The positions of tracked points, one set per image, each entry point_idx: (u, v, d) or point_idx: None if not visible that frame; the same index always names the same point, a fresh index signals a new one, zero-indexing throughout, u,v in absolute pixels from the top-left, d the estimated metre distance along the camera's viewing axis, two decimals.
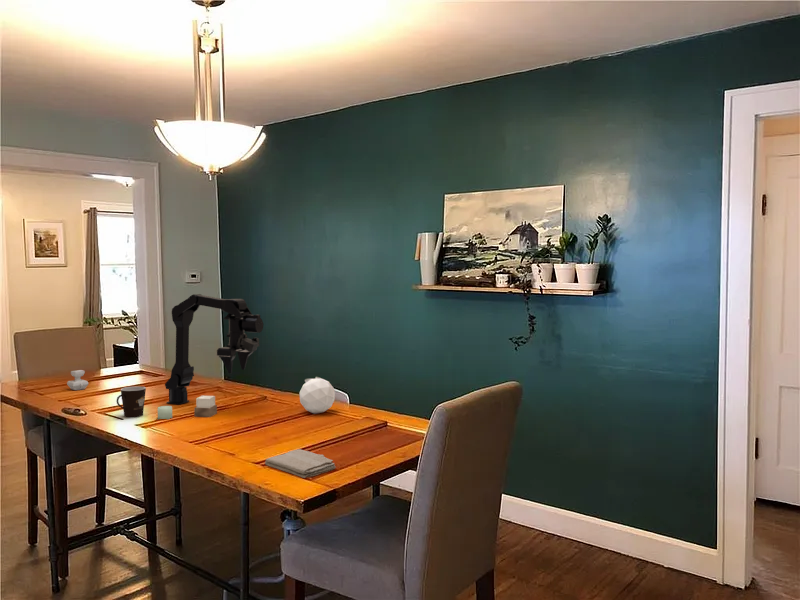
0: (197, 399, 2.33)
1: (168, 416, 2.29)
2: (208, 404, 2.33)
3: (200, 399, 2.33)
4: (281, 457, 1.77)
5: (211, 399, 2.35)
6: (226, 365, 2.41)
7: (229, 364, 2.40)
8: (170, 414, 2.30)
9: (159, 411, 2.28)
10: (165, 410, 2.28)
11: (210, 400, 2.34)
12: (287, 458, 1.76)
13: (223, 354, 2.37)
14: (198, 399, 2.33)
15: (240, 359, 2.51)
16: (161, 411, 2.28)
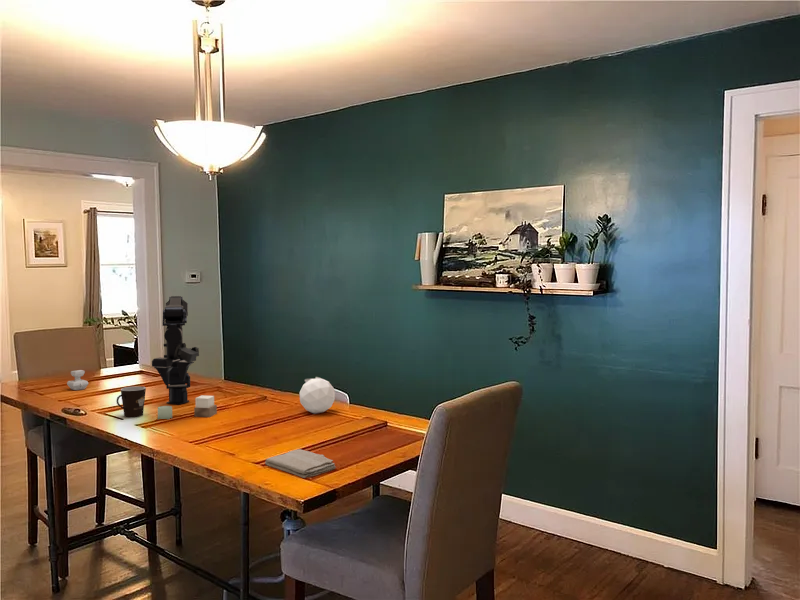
0: (196, 399, 2.33)
1: (168, 416, 2.29)
2: (207, 404, 2.33)
3: (199, 399, 2.33)
4: (281, 457, 1.77)
5: (210, 399, 2.34)
6: (162, 377, 2.27)
7: (165, 375, 2.26)
8: (170, 414, 2.30)
9: (159, 411, 2.28)
10: (165, 410, 2.28)
11: (209, 400, 2.34)
12: (287, 458, 1.76)
13: (158, 365, 2.23)
14: (197, 399, 2.33)
15: (179, 370, 2.37)
16: (161, 411, 2.28)
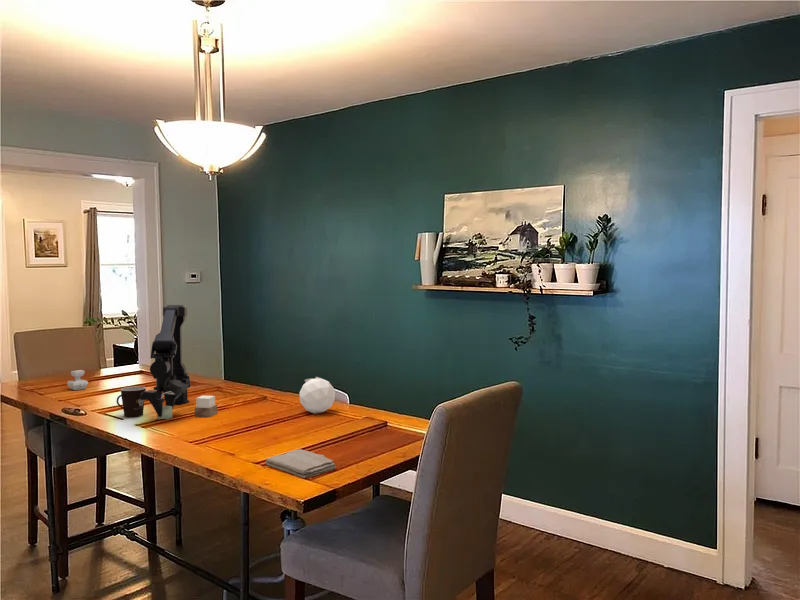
0: (197, 399, 2.33)
1: (168, 416, 2.29)
2: (208, 404, 2.33)
3: (200, 399, 2.33)
4: (281, 457, 1.77)
5: (211, 399, 2.35)
6: (155, 408, 2.27)
7: (158, 407, 2.27)
8: (170, 413, 2.30)
9: None
10: (165, 410, 2.28)
11: (210, 400, 2.34)
12: (287, 458, 1.76)
13: (147, 398, 2.21)
14: (198, 399, 2.33)
15: (166, 402, 2.34)
16: None
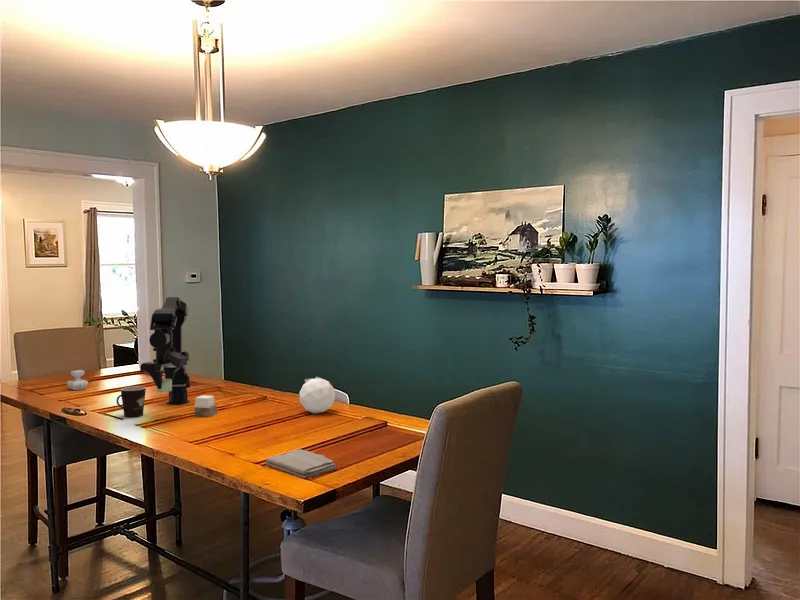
0: (196, 399, 2.33)
1: (168, 389, 2.28)
2: (207, 404, 2.33)
3: (199, 399, 2.33)
4: (282, 457, 1.77)
5: (210, 399, 2.35)
6: (155, 380, 2.27)
7: (158, 379, 2.26)
8: (169, 386, 2.29)
9: None
10: (165, 382, 2.28)
11: (209, 400, 2.34)
12: (287, 458, 1.76)
13: (147, 370, 2.21)
14: (197, 399, 2.33)
15: (166, 375, 2.33)
16: None
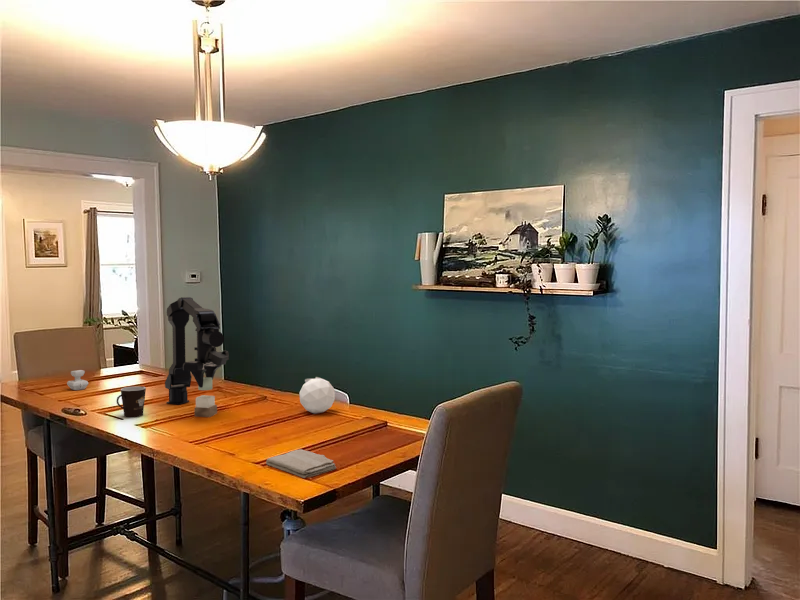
0: (196, 399, 2.34)
1: (209, 387, 2.34)
2: (207, 404, 2.33)
3: (199, 399, 2.33)
4: (282, 457, 1.77)
5: (210, 399, 2.35)
6: (196, 379, 2.32)
7: (200, 378, 2.31)
8: (210, 384, 2.34)
9: None
10: (206, 381, 2.33)
11: (209, 400, 2.34)
12: (288, 458, 1.76)
13: (189, 369, 2.26)
14: (197, 399, 2.34)
15: (206, 374, 2.38)
16: None
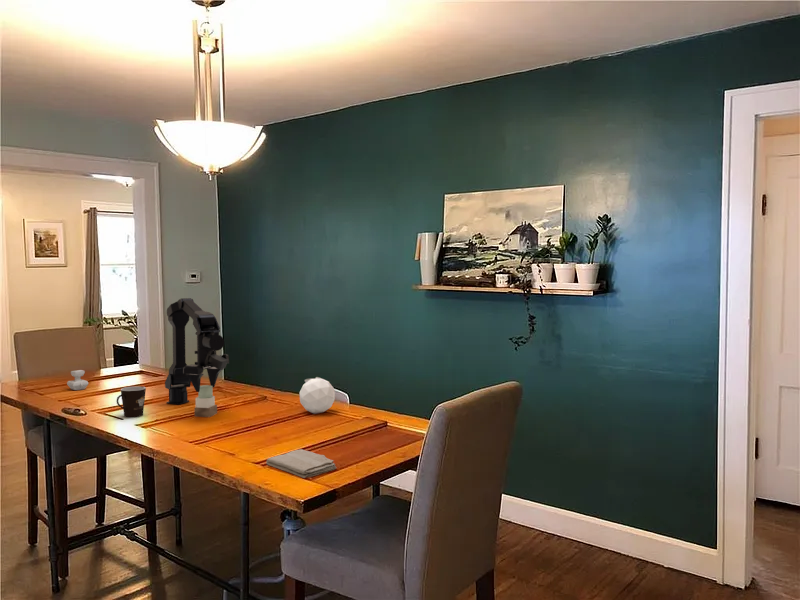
0: (196, 399, 2.33)
1: (209, 395, 2.33)
2: (207, 404, 2.33)
3: (199, 399, 2.33)
4: (282, 457, 1.77)
5: (210, 399, 2.34)
6: (193, 383, 2.30)
7: (196, 382, 2.29)
8: (210, 393, 2.34)
9: (200, 390, 2.33)
10: (206, 389, 2.33)
11: (209, 400, 2.34)
12: (288, 458, 1.76)
13: (190, 372, 2.26)
14: (197, 399, 2.33)
15: (209, 376, 2.40)
16: (202, 390, 2.33)
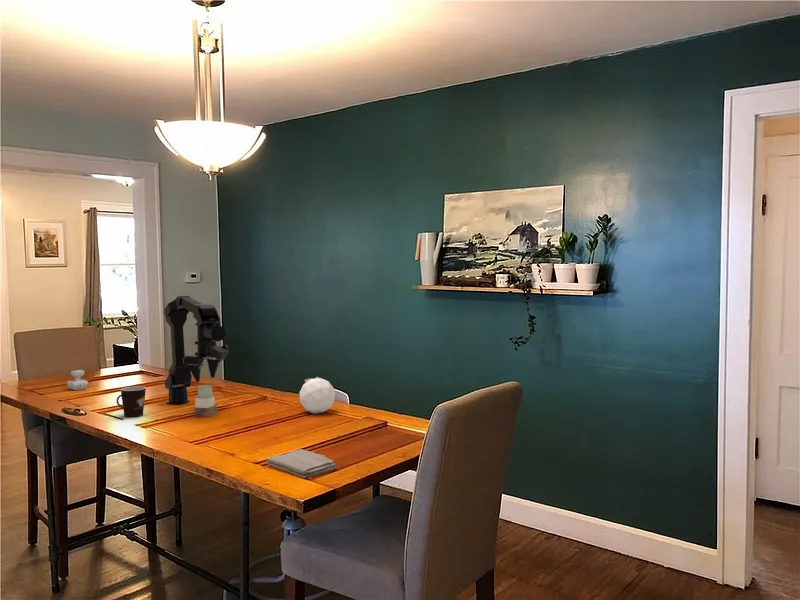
0: (196, 399, 2.33)
1: (208, 395, 2.34)
2: (206, 404, 2.33)
3: (199, 399, 2.33)
4: (282, 457, 1.77)
5: (210, 399, 2.34)
6: (193, 373, 2.33)
7: (196, 372, 2.32)
8: (210, 393, 2.34)
9: (199, 390, 2.33)
10: (205, 389, 2.33)
11: (209, 400, 2.34)
12: (288, 458, 1.76)
13: (190, 362, 2.29)
14: (197, 399, 2.33)
15: (210, 367, 2.43)
16: (202, 390, 2.33)
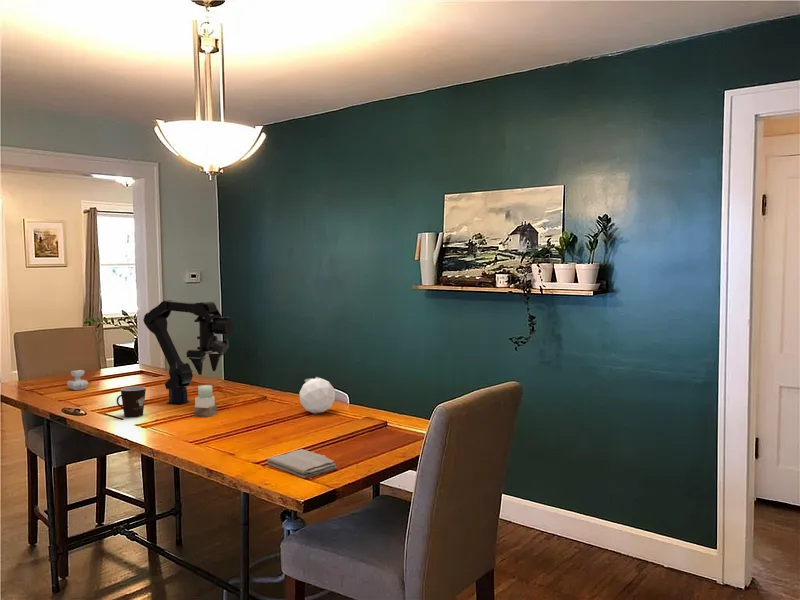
0: (196, 399, 2.34)
1: (208, 395, 2.34)
2: (206, 404, 2.33)
3: (199, 399, 2.33)
4: (283, 457, 1.77)
5: (210, 399, 2.34)
6: (196, 367, 2.46)
7: (199, 366, 2.45)
8: (210, 393, 2.34)
9: (199, 390, 2.33)
10: (205, 389, 2.33)
11: (208, 400, 2.34)
12: (288, 458, 1.76)
13: (192, 356, 2.42)
14: (197, 399, 2.34)
15: (211, 361, 2.56)
16: (201, 390, 2.33)
